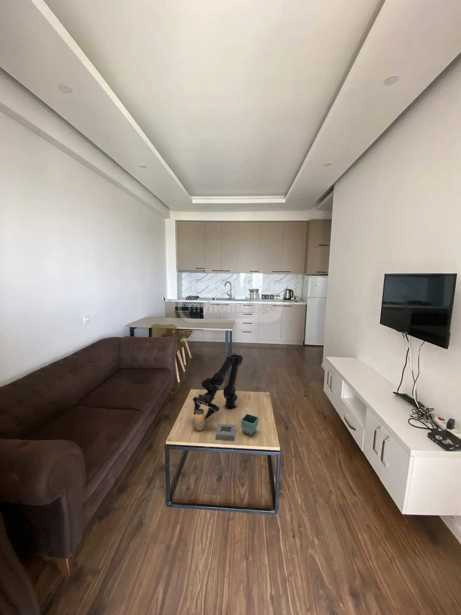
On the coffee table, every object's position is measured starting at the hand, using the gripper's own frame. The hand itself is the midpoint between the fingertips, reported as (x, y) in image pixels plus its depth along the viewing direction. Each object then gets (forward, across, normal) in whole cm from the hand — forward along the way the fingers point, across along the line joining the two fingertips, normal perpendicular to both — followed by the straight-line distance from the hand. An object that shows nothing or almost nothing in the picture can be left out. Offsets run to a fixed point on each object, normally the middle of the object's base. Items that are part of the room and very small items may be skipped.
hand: (199, 417), depth 159 cm
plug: (+6, 0, +6) cm, 8 cm away
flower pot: (-6, +27, +17) cm, 33 cm away
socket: (+2, +17, +10) cm, 19 cm away
